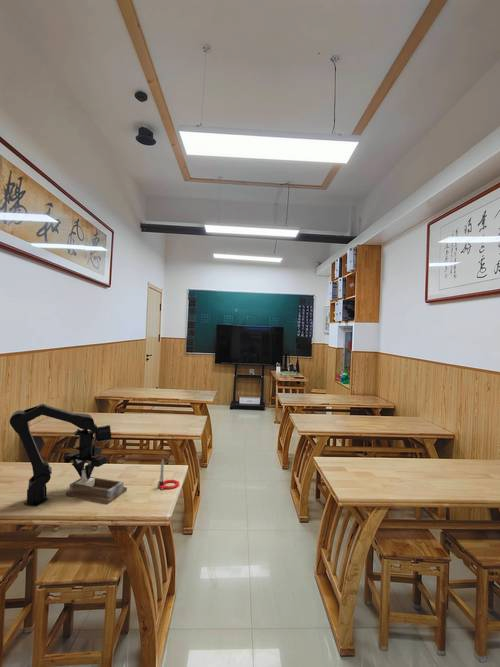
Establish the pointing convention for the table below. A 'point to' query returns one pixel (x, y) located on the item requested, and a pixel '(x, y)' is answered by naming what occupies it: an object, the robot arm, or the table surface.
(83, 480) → the keeper
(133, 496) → the table surface
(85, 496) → the brown tray
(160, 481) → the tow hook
